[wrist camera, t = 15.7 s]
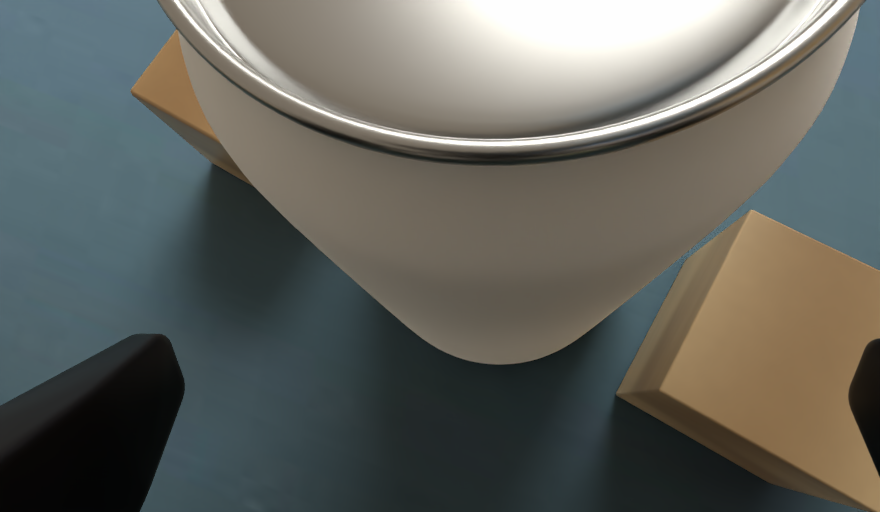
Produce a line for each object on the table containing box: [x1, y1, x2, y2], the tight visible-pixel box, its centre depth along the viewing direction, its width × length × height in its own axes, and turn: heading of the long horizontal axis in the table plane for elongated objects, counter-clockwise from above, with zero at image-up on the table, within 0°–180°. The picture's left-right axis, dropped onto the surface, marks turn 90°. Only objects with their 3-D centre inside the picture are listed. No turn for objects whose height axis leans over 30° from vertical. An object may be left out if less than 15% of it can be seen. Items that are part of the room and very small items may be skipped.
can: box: [157, 0, 866, 365], centre depth 10 cm, size 6×6×12 cm
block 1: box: [131, 29, 254, 187], centre depth 15 cm, size 4×4×4 cm
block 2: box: [616, 210, 880, 512], centre depth 12 cm, size 4×4×4 cm
